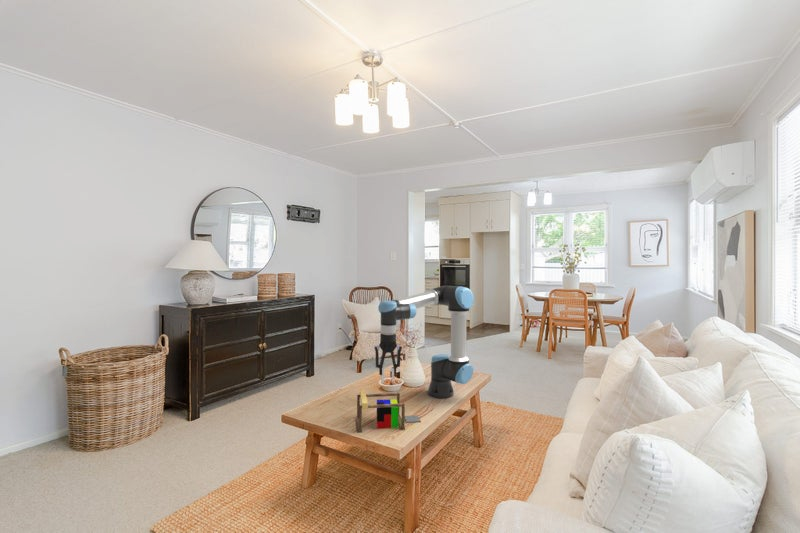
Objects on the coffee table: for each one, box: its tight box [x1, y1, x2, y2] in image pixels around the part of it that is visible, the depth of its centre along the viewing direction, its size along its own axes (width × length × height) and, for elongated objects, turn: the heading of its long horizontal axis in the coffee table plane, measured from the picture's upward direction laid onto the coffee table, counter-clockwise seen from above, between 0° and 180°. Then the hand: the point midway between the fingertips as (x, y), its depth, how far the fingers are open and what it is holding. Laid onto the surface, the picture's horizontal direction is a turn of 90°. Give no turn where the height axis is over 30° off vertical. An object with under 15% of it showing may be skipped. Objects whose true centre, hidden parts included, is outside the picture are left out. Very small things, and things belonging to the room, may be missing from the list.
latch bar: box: [359, 389, 369, 411], centre depth 183 cm, size 2×17×3 cm, turn 10°
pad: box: [404, 414, 422, 424], centre depth 190 cm, size 7×7×1 cm
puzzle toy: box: [376, 398, 399, 429], centre depth 185 cm, size 10×10×10 cm
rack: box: [355, 392, 406, 433], centre depth 184 cm, size 22×15×12 cm
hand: (387, 381), depth 184 cm, fingers open, 4 cm apart
